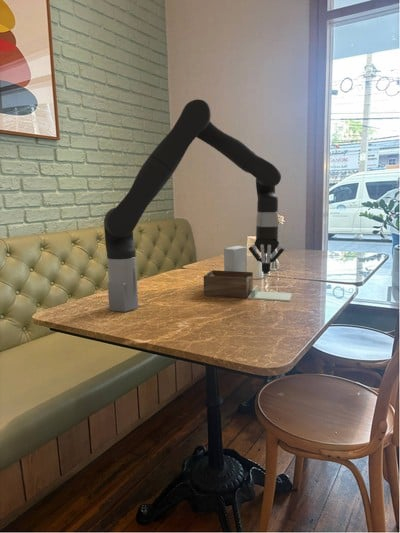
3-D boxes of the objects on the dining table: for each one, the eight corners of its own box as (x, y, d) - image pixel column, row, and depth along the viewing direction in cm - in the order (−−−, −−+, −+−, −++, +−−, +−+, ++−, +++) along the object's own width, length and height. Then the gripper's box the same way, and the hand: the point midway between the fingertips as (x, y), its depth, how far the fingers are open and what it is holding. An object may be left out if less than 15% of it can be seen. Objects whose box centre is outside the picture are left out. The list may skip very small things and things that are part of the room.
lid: (289, 302, 136) (289, 293, 135) (247, 300, 140) (248, 290, 140) (292, 295, 145) (292, 286, 144) (252, 293, 149) (252, 284, 149)
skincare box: (237, 279, 171) (237, 245, 168) (247, 281, 166) (247, 246, 163) (223, 282, 166) (223, 247, 163) (233, 284, 161) (233, 248, 158)
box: (246, 298, 140) (246, 278, 139) (203, 295, 145) (203, 276, 144) (252, 291, 150) (252, 272, 149) (212, 288, 155) (212, 270, 154)
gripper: (246, 225, 137) (245, 274, 140) (284, 226, 132) (283, 276, 136) (250, 223, 144) (250, 270, 147) (287, 224, 139) (285, 272, 143)
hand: (266, 273), depth 141 cm, fingers closed
